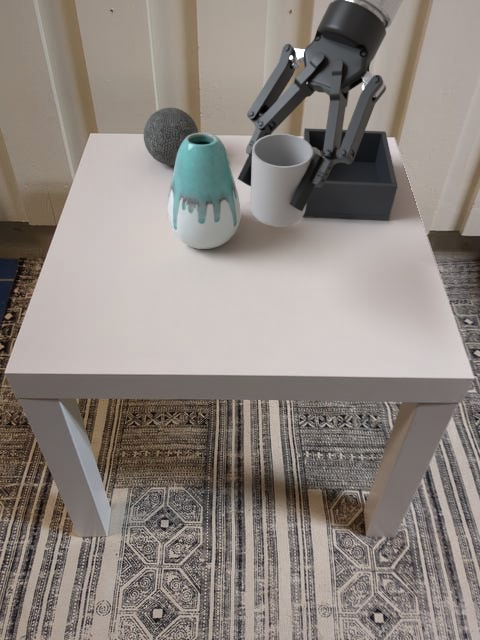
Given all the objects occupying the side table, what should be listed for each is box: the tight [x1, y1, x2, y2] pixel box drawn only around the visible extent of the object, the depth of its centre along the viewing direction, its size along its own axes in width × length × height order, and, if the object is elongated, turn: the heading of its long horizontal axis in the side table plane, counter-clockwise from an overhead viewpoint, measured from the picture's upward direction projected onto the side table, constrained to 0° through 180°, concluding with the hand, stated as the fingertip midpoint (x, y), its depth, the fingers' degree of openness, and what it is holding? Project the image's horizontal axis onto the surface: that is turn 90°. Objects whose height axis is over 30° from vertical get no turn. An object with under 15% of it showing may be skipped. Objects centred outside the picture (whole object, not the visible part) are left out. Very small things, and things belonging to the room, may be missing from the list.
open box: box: [302, 127, 398, 222], centre depth 99 cm, size 17×15×7 cm
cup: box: [249, 133, 322, 228], centre depth 71 cm, size 7×10×9 cm
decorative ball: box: [143, 107, 199, 166], centre depth 103 cm, size 10×10×10 cm
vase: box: [166, 132, 242, 250], centre depth 86 cm, size 12×12×18 cm
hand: (269, 194), depth 70 cm, fingers closed on cup, 7 cm apart
